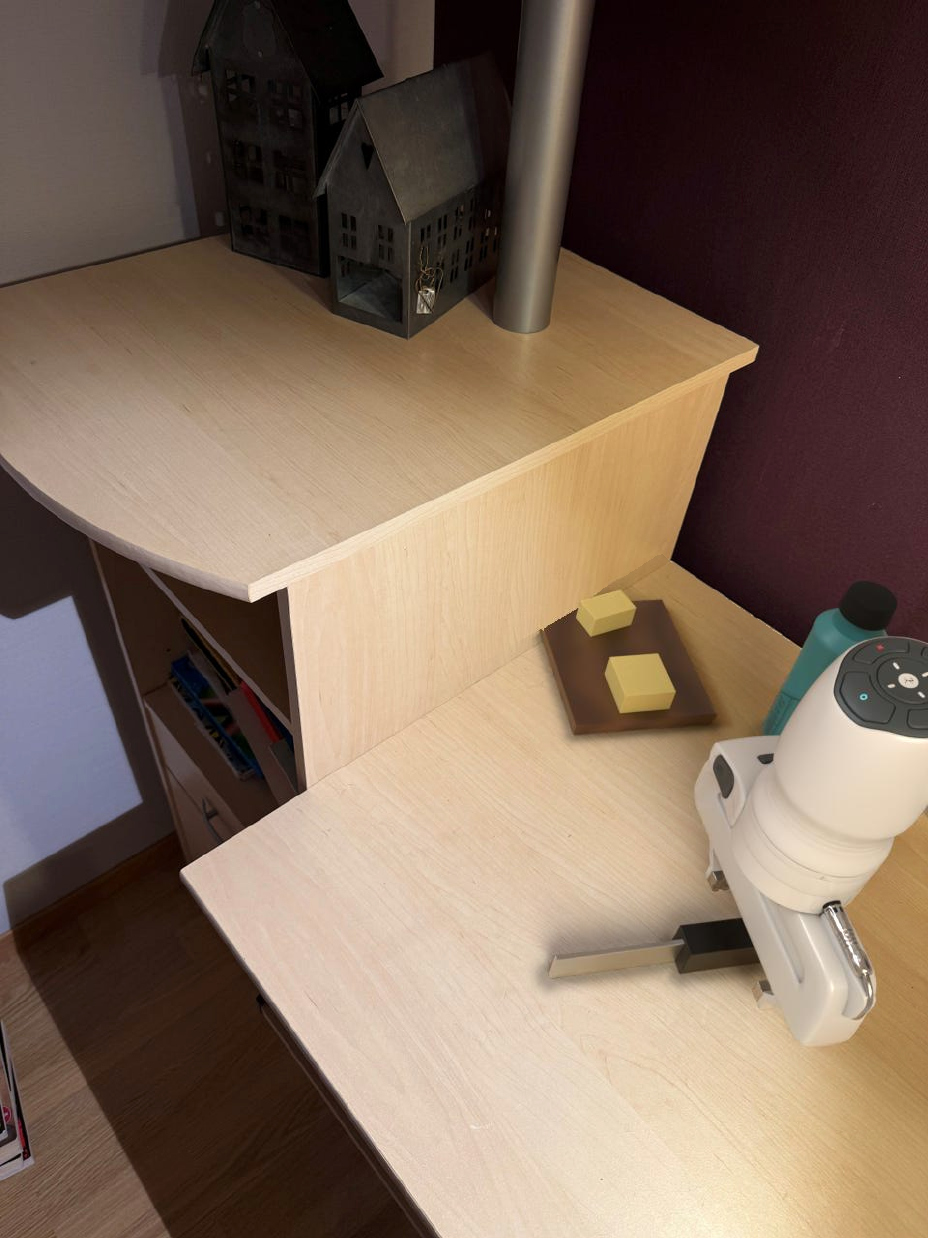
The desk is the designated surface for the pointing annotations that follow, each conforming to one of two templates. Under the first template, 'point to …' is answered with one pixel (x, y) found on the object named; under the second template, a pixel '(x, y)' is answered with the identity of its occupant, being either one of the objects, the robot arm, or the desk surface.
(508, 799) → the desk surface
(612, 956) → the knife
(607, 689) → the board
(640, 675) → the butter stick
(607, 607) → the butter pat
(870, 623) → the beverage bottle
